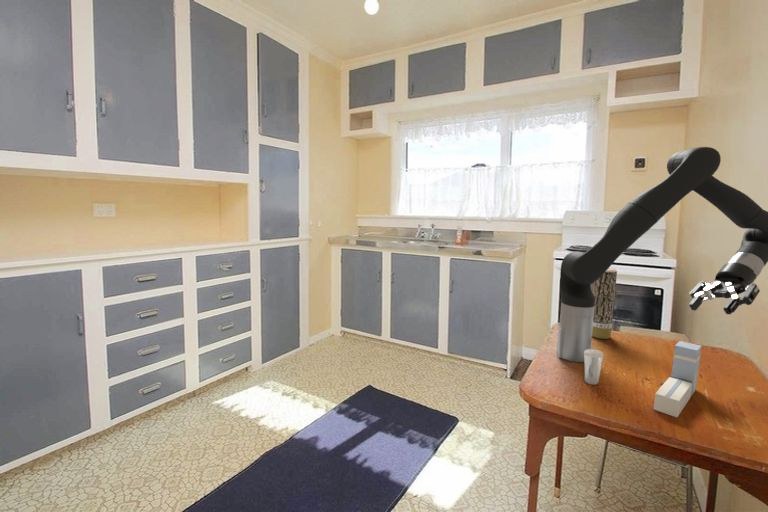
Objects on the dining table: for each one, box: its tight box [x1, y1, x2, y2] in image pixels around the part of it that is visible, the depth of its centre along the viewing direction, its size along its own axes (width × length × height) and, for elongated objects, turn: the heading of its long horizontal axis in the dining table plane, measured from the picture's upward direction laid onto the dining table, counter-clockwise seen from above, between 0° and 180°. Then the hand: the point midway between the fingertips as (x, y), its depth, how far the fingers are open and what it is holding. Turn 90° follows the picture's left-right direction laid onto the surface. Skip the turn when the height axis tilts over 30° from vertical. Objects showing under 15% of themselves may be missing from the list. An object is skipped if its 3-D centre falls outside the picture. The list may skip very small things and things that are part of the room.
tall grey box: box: [671, 340, 702, 397], centre depth 98 cm, size 5×5×12 cm
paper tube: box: [592, 267, 618, 340], centre depth 136 cm, size 7×7×25 cm
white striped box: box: [653, 374, 693, 418], centre depth 92 cm, size 15×4×4 cm, turn 131°
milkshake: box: [583, 342, 604, 385], centre depth 102 cm, size 4×5×10 cm
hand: (708, 310), depth 103 cm, fingers open, 8 cm apart
